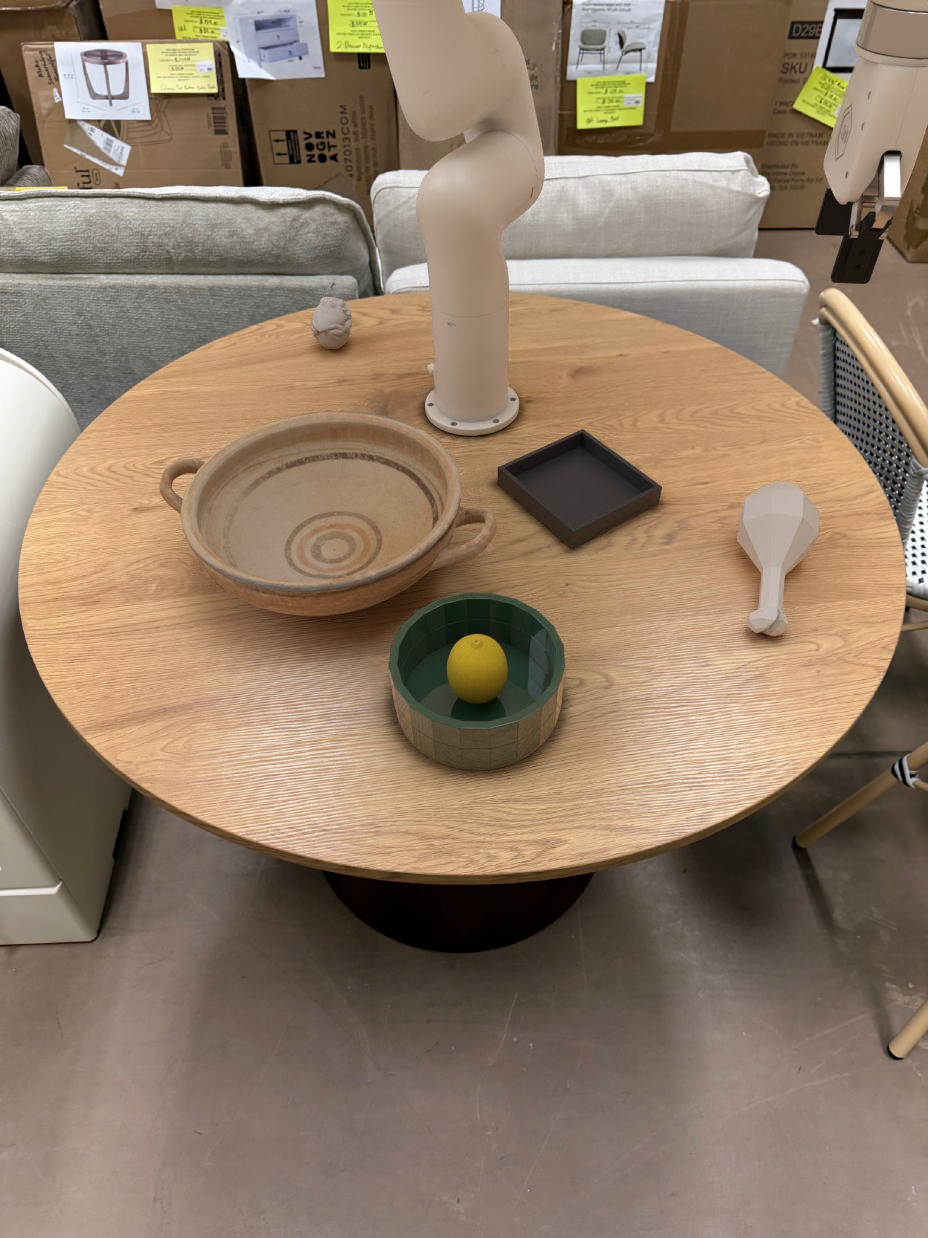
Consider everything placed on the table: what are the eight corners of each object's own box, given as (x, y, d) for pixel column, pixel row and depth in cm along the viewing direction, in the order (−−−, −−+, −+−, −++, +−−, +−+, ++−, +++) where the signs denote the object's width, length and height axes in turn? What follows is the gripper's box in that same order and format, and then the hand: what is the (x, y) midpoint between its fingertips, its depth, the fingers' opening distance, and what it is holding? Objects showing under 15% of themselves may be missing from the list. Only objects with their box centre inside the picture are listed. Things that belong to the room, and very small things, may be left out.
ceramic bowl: (119, 620, 85) (83, 550, 78) (242, 458, 103) (222, 389, 96) (457, 693, 78) (454, 623, 70) (526, 505, 96) (529, 434, 88)
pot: (365, 683, 79) (357, 640, 74) (496, 614, 84) (496, 569, 79) (455, 801, 70) (452, 760, 65) (594, 715, 76) (601, 671, 71)
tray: (497, 484, 99) (497, 466, 97) (581, 445, 103) (582, 428, 101) (571, 549, 91) (573, 531, 89) (659, 504, 95) (662, 486, 93)
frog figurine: (363, 337, 123) (357, 293, 118) (342, 360, 119) (335, 315, 113) (327, 331, 125) (320, 287, 119) (305, 354, 120) (297, 309, 115)
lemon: (508, 674, 78) (510, 619, 72) (505, 722, 75) (506, 667, 69) (451, 671, 79) (448, 615, 73) (445, 718, 75) (441, 663, 69)
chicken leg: (707, 635, 83) (758, 600, 76) (724, 499, 91) (772, 456, 84) (777, 664, 84) (833, 633, 77) (787, 528, 93) (839, 488, 86)
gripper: (841, 3, 68) (785, 216, 80) (882, 62, 56) (810, 300, 69) (937, 3, 67) (865, 219, 79) (998, 64, 55) (903, 304, 68)
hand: (839, 256), depth 74 cm, fingers open, 9 cm apart
